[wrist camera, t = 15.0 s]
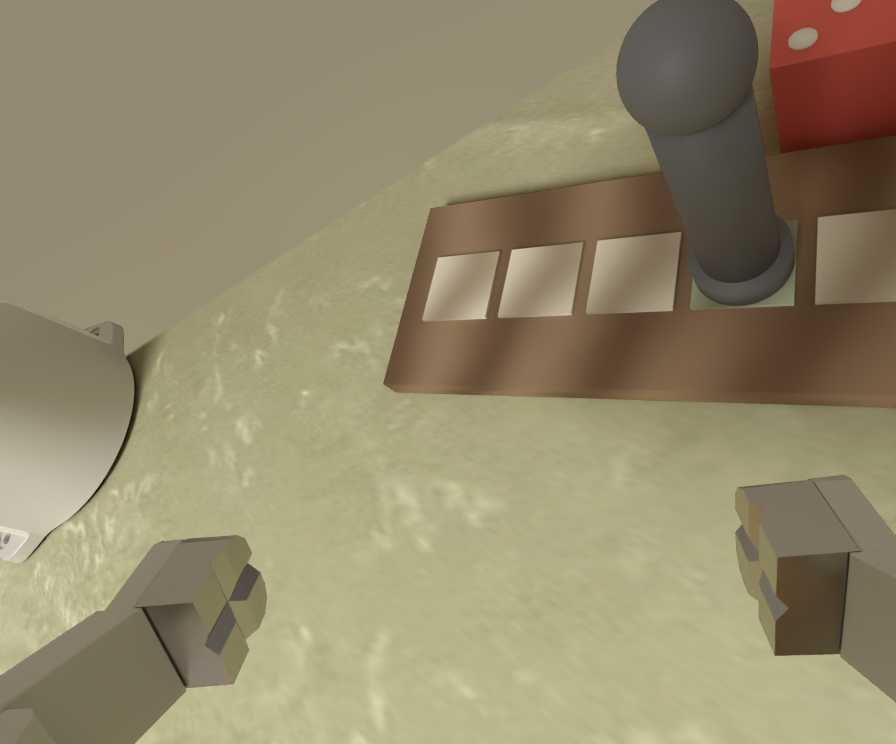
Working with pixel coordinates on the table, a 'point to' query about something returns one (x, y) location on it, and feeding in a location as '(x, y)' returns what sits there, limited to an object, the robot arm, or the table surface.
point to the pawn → (709, 142)
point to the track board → (658, 295)
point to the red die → (833, 71)
